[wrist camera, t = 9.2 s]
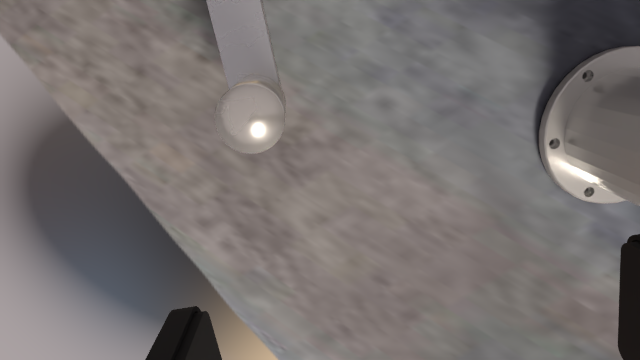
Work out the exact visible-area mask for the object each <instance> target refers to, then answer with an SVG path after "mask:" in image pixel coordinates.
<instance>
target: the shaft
mask: <svg viewBox="0 0 640 360" xmlns="http://www.w3.org/2000/svg"><path fill="white" fill-rule="evenodd" d="M206 2H207V5H208V9H209V13H210V17H211V21H212V25H213V29H214V32H215V36H216V40H217V44H218V48H219V52H220V56H221V60H222V63H223V67H224V71H225V75H226V79H227V83H228V87H229V90H228V91H227V92H226V93H225V94H224V95H223V96H222V97H221V99H220V100H219V102H218V104H217V107H216V110H215V126H216V129H217V132H218V134H219V136H220V137H221V139H222V140H223V141H224V142H225V143H226V144H227V145H228V146H229V147H231V148H232V149H234V150H236V151H239V152H242V153H248V154H254V153H260V152H263V151H265V150H267V149H269V148H271V147H272V146H273V145H274V144H275V143H276V142H277V141H278V140H279V139H280V137H281V135H282V133H283V130H284V126H285V111H286V100H285V95H284V92H283V90H282V88H281V83H280V79H279V74H278V70H277V65H276V61H275V56H274V52H273V47H272V43H271V38H270V34H269V29H268V25H267V20H266V16H265V11H264V7H263V2H262V0H206Z"/></svg>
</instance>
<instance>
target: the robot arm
mask: <svg viewBox="0 0 640 360" xmlns="http://www.w3.org/2000/svg"><path fill="white" fill-rule="evenodd" d="M582 76H583V77H582ZM550 141H551V142H550ZM539 149H540V154H541V159H542V162H543V164H544V167H545V169H546V171H547V173H548V174H549V176H550V177H551V178H552V180H553V181H554V182H555V183H556V184H557V185H558V186H559V187H561V188H562V189H563V190H564V191H566V192H568V193H570V194H571V195H573V196H575V197H577V198H579V199H582V200H584V201H588V202H594V203H600V204H603V203H617V202H622V201H629V202H632V203H634V204H636V205H638V206H640V46H623V47H618V48H613V49H608V50H606V51H603V52H601V53H598V54H596V55H593V56H592V57H590V58H588V59H587V60H585V61H584V62H582V63H581V64H579V65H578V66H577V67H575V68H574V69H573V70H572V71H571V72H570V73H569V74H568V75H566V77H565V78H564V79H563V80H562V81H561V83H560V84H559V85H558V86H557V88H556V89H555V91H554V92H553V94H552V96H551V97H550V99H549V101H548V103H547V105H546V108H545V110H544V113H543V116H542V119H541V125H540V130H539ZM618 348H619V352H620V354H621V356H622V358H623V360H640V234H638V235H632V236H631V237H629V239H628V241H627V243H625V244H623V245H622V247H621V263H620V295H619V327H618ZM146 360H222V358H221V355H220V351H219V348H218V344H217V341H216V337H215V334H214V330H213V327H212V323H211V320H210V317H209V314H208V312H206V311H204V312H201V311H200V309H199V308H198V307H197V306H195V307H188V308H182V309H176V310H172V311H171V312H170V313H169V315H168V317H167V319H166V321H165V323H164V325H163V327H162V329H161V331H160V332H159V334H158V336H157V338H156V340H155V342H154V344H153V346H152V348H151V350H150V352H149V354H148V356H147V358H146Z"/></svg>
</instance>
